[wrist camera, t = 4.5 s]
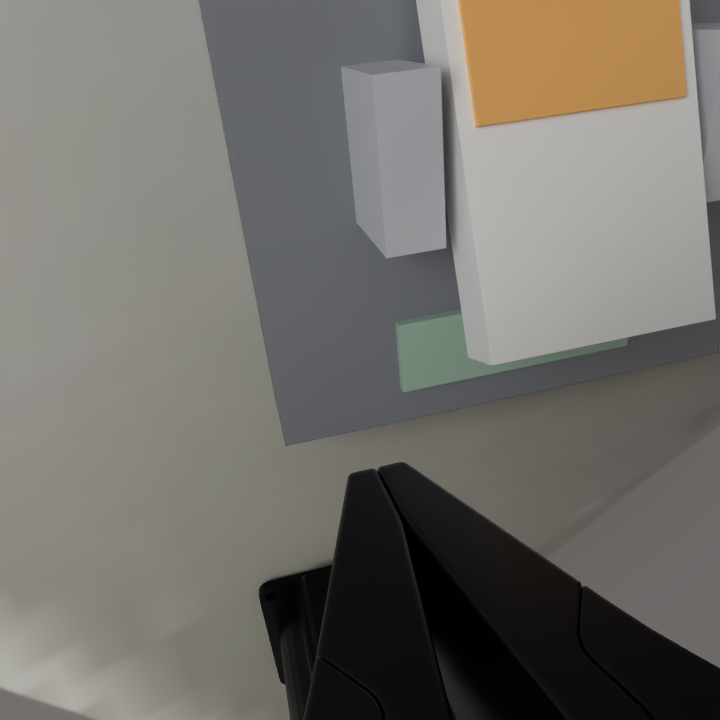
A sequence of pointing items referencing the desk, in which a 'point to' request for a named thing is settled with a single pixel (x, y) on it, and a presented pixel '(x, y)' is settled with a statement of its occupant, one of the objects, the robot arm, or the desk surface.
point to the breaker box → (383, 216)
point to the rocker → (570, 170)
